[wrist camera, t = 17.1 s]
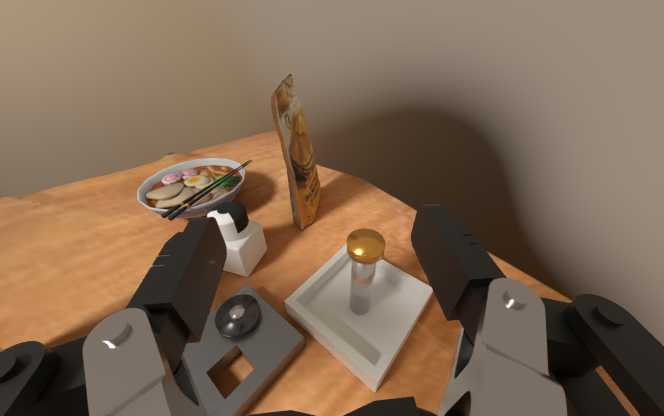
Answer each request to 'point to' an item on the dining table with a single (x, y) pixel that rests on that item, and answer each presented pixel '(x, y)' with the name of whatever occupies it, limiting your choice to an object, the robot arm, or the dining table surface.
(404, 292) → the tray
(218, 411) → the grey flat square block
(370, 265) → the pin
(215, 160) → the ramen bowl
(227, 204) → the medicine bottle
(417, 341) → the dining table surface
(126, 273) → the dining table surface
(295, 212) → the pancake mix bag
